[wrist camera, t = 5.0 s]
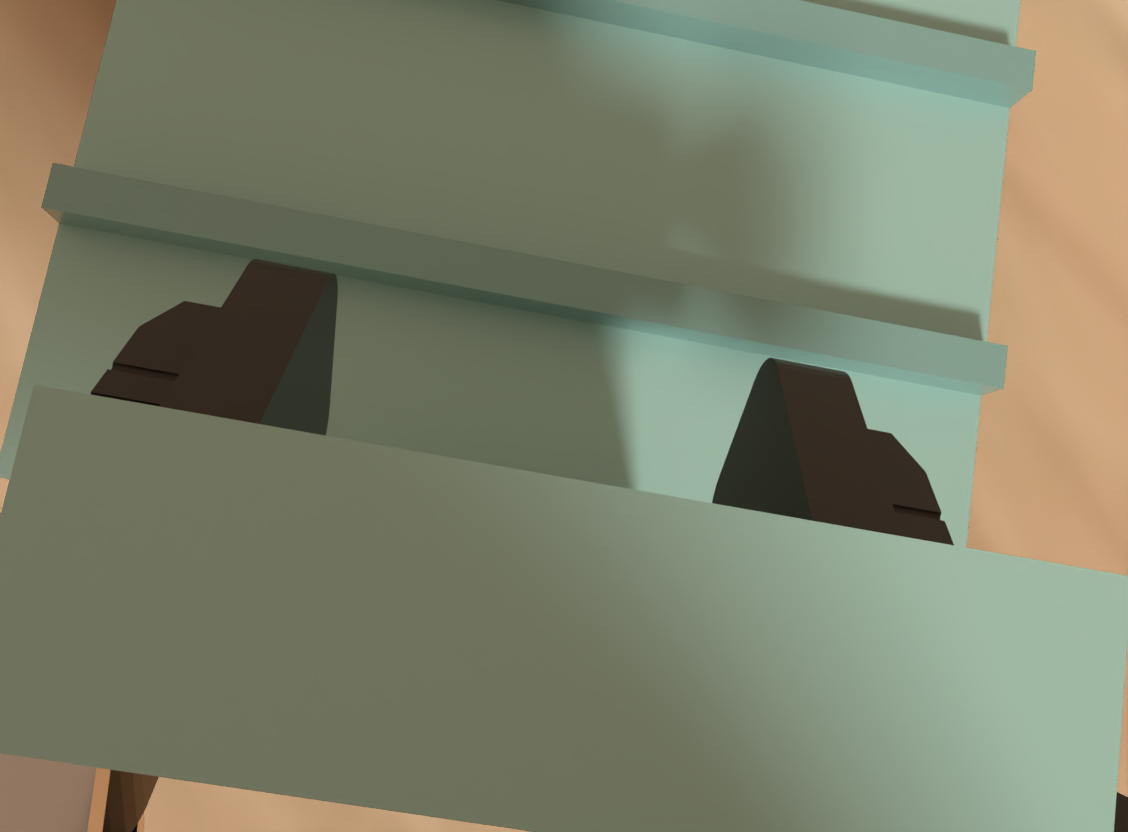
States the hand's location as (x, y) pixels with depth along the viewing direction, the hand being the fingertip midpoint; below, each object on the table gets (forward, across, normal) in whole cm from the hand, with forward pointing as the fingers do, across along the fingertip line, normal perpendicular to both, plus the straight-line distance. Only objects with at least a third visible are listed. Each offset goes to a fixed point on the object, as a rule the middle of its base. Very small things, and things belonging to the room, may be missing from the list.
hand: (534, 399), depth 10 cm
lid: (+6, 0, +1) cm, 6 cm away
